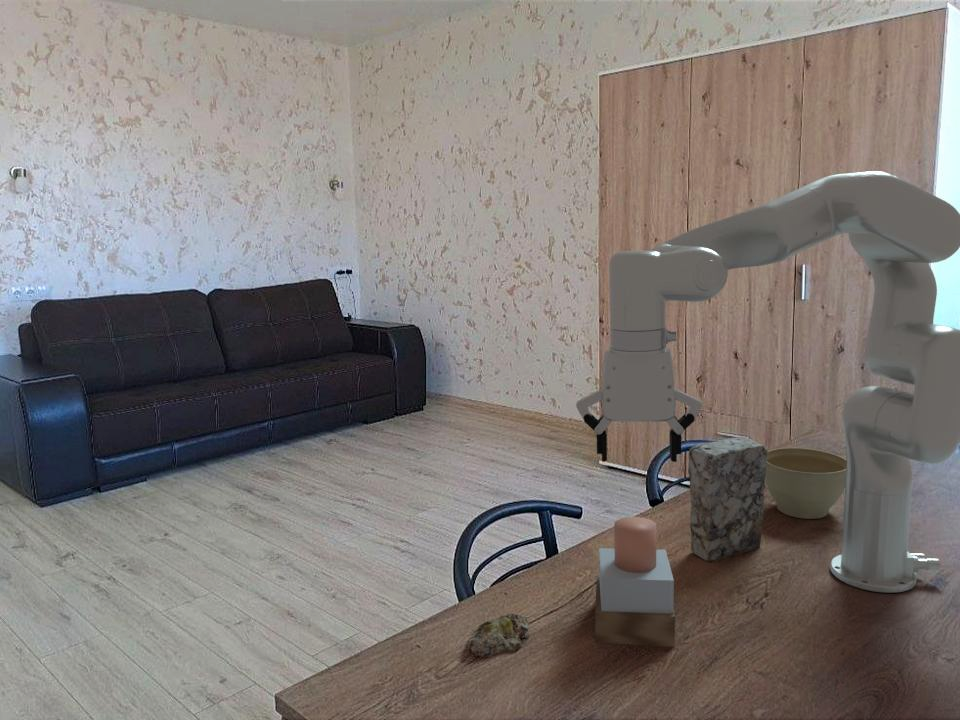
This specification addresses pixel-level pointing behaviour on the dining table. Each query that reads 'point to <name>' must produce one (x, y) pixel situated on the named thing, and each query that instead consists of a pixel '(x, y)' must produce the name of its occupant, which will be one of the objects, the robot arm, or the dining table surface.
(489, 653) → the mineral rock
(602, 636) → the walnut base block
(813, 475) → the planter bowl
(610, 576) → the slate cap block
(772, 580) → the dining table surface
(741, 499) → the stone block
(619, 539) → the dusty-pink cylinder
